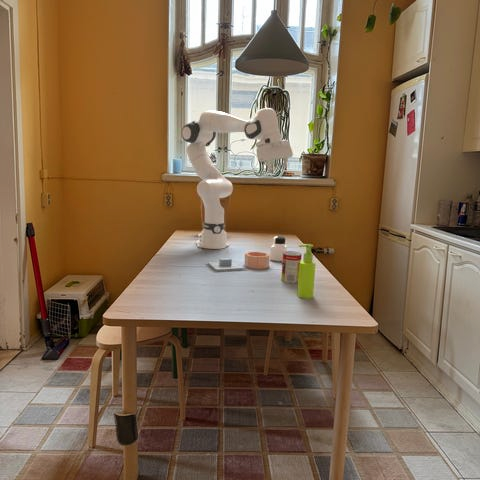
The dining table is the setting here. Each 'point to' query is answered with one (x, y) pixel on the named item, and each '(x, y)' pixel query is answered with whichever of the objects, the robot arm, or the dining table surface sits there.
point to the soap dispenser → (306, 274)
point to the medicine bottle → (278, 249)
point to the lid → (225, 265)
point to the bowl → (257, 260)
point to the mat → (223, 271)
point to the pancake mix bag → (224, 204)
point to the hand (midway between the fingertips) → (278, 168)
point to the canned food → (291, 266)
